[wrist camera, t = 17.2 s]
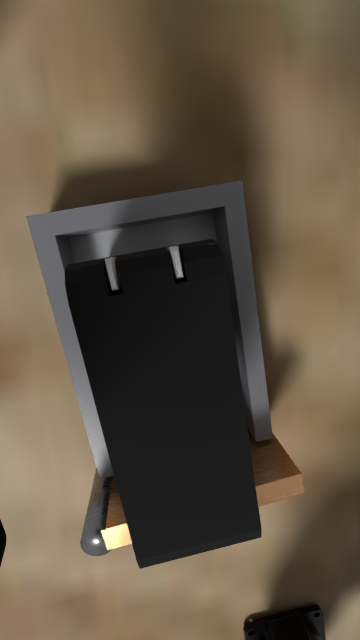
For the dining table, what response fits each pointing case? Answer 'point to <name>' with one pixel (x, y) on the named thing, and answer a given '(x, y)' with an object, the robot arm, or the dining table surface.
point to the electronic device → (168, 396)
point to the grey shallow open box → (144, 234)
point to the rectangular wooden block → (108, 516)
